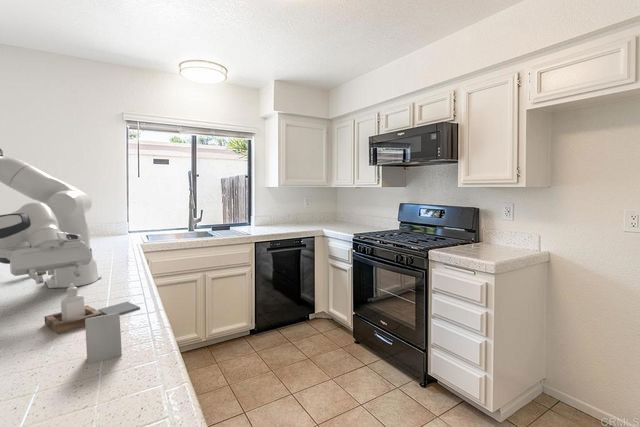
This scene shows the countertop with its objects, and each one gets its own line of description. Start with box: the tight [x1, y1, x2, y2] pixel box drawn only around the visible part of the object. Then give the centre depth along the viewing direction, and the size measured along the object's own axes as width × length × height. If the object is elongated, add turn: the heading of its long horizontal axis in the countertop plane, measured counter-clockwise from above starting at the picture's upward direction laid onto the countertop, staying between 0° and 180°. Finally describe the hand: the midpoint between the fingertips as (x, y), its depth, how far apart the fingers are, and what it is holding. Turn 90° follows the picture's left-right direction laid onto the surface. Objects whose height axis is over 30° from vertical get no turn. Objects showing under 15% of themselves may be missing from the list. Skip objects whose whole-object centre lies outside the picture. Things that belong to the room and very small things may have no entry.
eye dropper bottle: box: [60, 283, 86, 322], centre depth 97 cm, size 4×6×12 cm
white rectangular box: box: [84, 313, 123, 365], centre depth 78 cm, size 4×7×10 cm, turn 125°
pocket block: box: [43, 305, 103, 335], centre depth 98 cm, size 11×11×2 cm
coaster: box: [97, 301, 141, 316], centre depth 108 cm, size 9×9×1 cm
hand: (59, 279), depth 101 cm, fingers open, 8 cm apart
